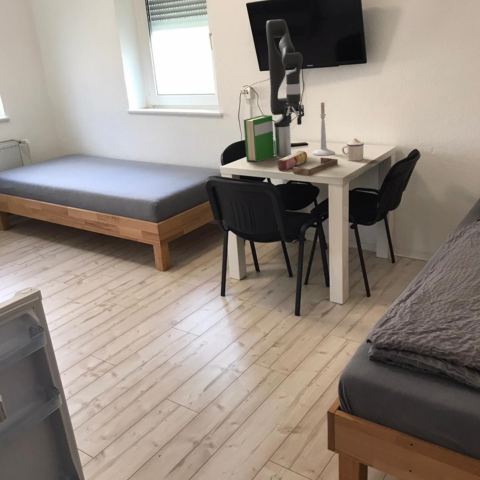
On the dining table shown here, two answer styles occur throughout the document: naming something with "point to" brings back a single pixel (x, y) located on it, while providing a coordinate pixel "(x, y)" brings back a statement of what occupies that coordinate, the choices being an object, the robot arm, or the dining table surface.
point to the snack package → (292, 160)
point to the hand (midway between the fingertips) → (294, 123)
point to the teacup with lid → (354, 150)
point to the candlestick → (323, 137)
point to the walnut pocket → (317, 167)
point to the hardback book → (259, 138)
